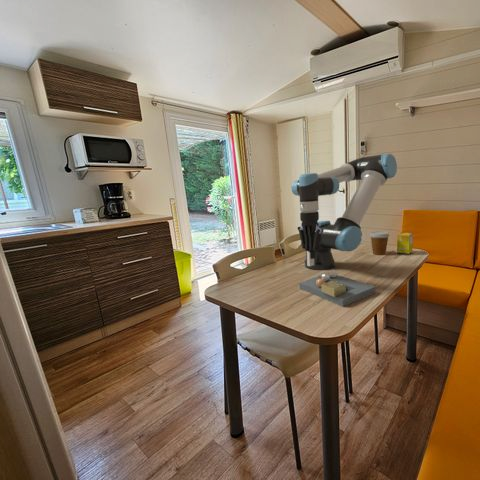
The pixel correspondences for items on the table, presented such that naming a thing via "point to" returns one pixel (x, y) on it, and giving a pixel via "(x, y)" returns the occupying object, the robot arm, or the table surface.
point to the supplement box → (404, 243)
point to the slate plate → (353, 293)
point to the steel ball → (325, 277)
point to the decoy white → (332, 273)
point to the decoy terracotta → (320, 282)
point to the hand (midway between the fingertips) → (310, 265)
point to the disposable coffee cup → (379, 242)
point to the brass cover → (333, 288)
